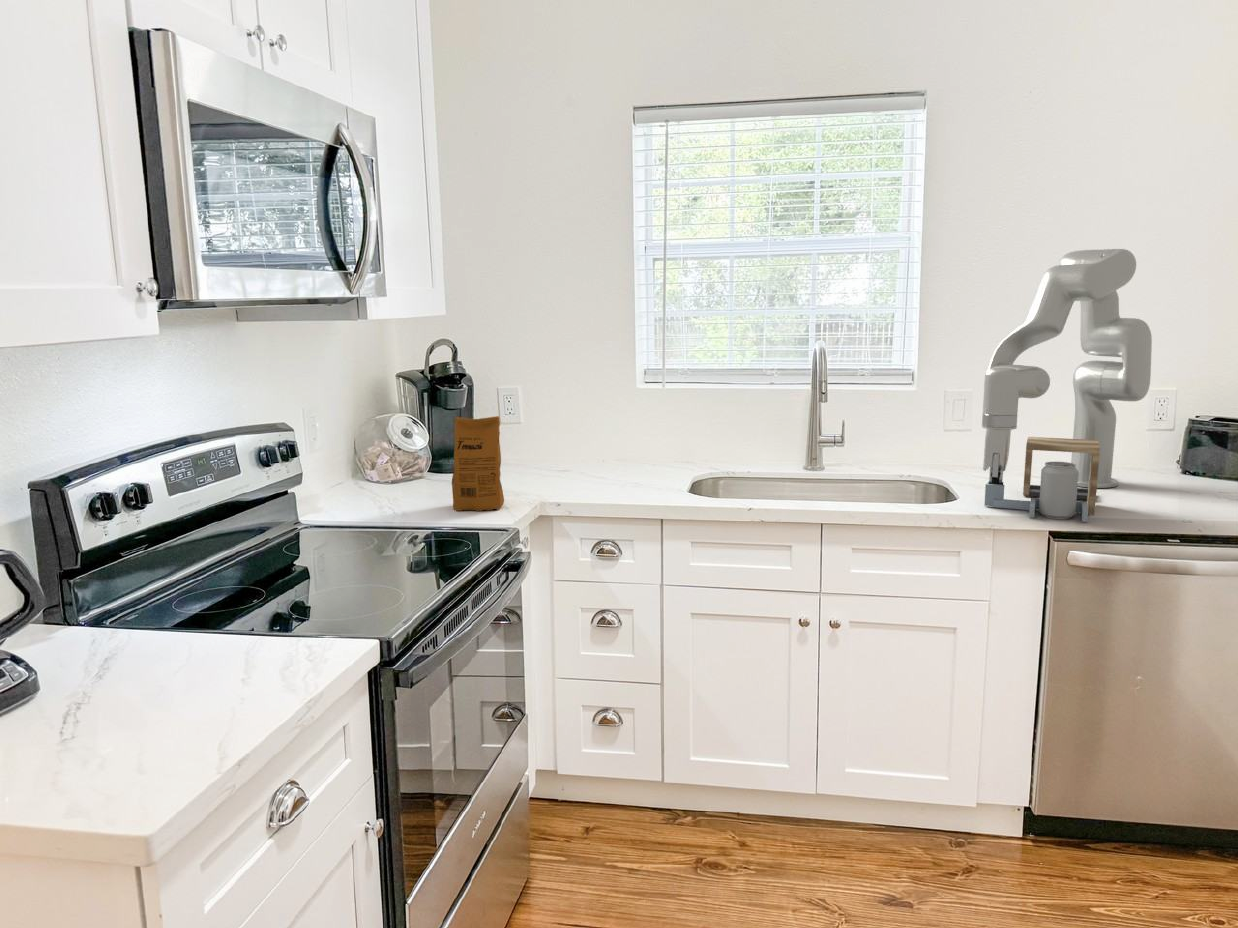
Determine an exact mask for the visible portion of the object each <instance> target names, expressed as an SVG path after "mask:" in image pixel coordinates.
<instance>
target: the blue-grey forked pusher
mask: <svg viewBox="0 0 1238 928" xmlns="http://www.w3.org/2000/svg"><path fill="white" fill-rule="evenodd" d="M984 488H985V489H984V507H985V506H986V507H993V508H999V509H1001V508H1002V509H1014V510H1015V509H1016V510H1024V511H1025V510H1027V511H1029V515H1028V518H1035V513H1036V512H1035V511H1036V510H1038V511H1039V499H1040V498H1034V497H1030V500H1019V499H1018V500H1017V499H1007V498H1004V497H1005V496H1004V495H1005V484H1003V485H999V484H988V483H985V487H984ZM1075 514H1080V515H1081V516H1080V517H1081V522H1083V523H1087V522H1088V516H1089V515H1088V507H1087V501H1076V512H1075Z"/></svg>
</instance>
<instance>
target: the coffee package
mask: <svg viewBox="0 0 1238 928" xmlns="http://www.w3.org/2000/svg"><path fill="white" fill-rule="evenodd" d="M500 426H501V421H500V416H499V415H497V416H490V417H489V416H488V417H480V418H469V417H468V418H467V417H460V416H459V417H458V416H455V418H454V430H453V431H454V452H453V463H454V465H453V467H454V469H453V473H452V479H451V487H452V489H451V490H452V491H451V492H452V503H453V504H452V508H453V510H454V511H455V510H456V511H455V512H462V511H463V510H464V511H474V510H475V512H483V511H482V510H488V511H494V510H493V509H497V510H500V509H501V508H502V506H503V505H504V503H505V497H504V492H503V491H504V490H503V487H502V483H501V482H502V481H501V465H502V464H501V463H502V453H501V451H502V450H501V443H500V434H501V432H500ZM477 510H478V511H477ZM479 510H480V511H479Z"/></svg>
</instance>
